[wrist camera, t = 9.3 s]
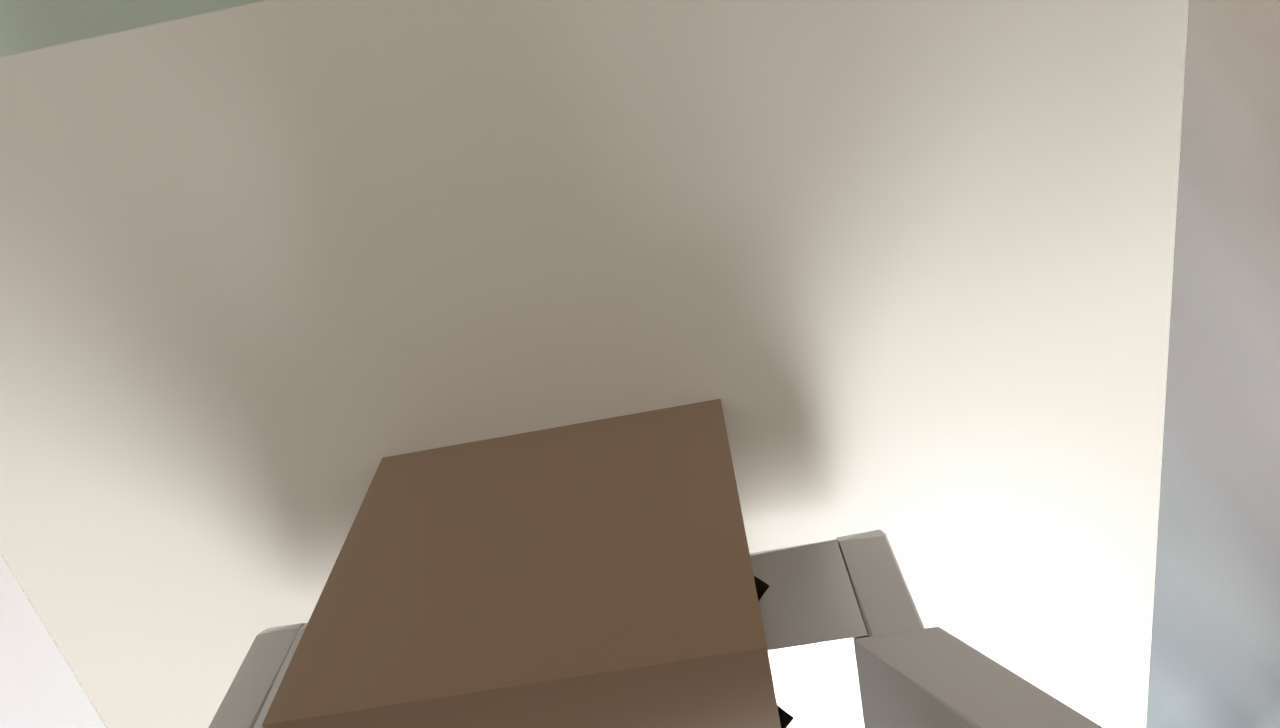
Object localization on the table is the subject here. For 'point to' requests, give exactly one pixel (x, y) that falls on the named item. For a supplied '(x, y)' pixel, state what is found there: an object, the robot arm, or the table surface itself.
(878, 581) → the robot arm
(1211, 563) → the table surface
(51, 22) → the mat
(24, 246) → the cover
